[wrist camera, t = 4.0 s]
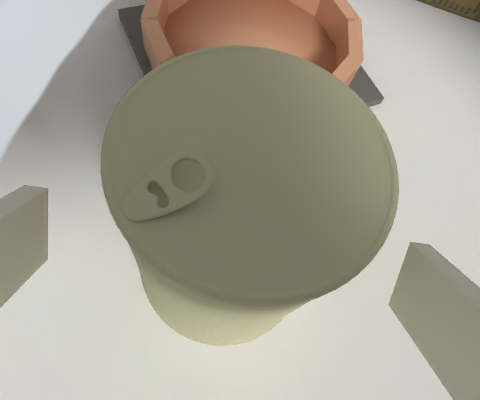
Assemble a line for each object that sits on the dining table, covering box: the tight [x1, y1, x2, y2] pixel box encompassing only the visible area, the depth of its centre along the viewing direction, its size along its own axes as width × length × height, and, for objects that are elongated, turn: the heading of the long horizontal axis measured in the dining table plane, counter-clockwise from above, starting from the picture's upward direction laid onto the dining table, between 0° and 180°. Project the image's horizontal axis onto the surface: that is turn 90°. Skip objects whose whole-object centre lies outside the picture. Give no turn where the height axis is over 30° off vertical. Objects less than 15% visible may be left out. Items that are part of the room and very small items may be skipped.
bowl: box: [141, 0, 363, 86], centre depth 27 cm, size 15×15×3 cm
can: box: [101, 45, 399, 345], centre depth 16 cm, size 9×9×12 cm
